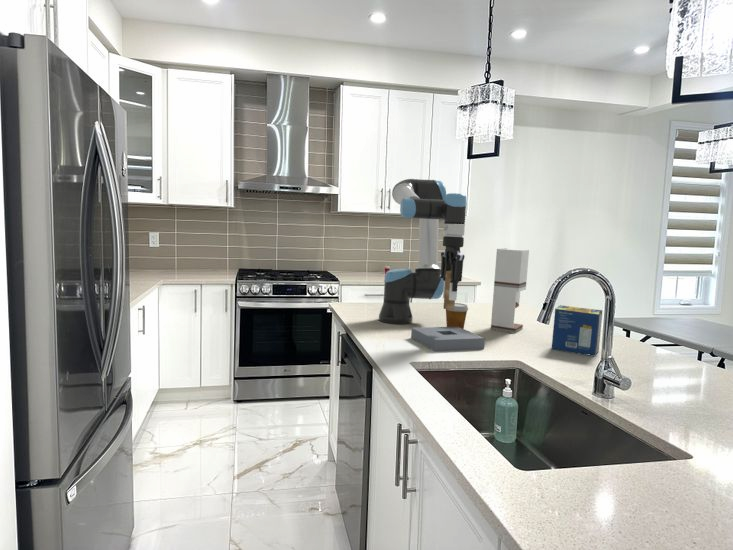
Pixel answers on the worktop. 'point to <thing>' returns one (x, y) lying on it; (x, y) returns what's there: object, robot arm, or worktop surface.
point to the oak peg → (448, 303)
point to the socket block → (447, 338)
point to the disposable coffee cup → (456, 315)
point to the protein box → (576, 330)
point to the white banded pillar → (508, 288)
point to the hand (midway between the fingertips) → (449, 299)
